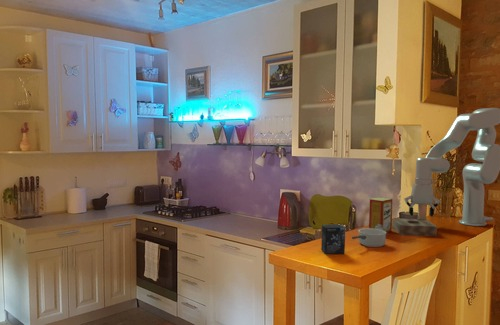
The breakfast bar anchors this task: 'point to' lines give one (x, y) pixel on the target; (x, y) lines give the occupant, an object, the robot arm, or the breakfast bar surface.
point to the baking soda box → (380, 212)
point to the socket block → (414, 227)
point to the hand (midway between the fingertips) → (421, 215)
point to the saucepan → (371, 237)
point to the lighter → (384, 226)
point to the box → (333, 239)
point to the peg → (422, 211)
